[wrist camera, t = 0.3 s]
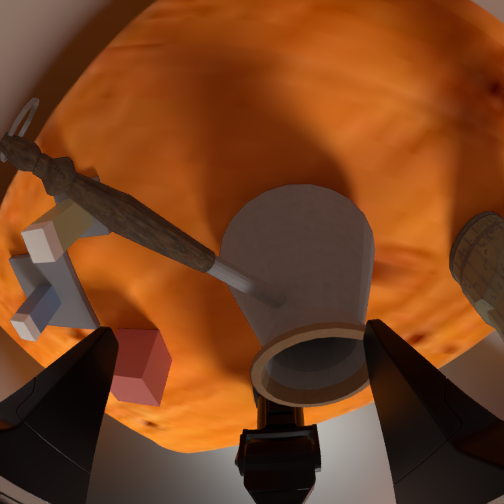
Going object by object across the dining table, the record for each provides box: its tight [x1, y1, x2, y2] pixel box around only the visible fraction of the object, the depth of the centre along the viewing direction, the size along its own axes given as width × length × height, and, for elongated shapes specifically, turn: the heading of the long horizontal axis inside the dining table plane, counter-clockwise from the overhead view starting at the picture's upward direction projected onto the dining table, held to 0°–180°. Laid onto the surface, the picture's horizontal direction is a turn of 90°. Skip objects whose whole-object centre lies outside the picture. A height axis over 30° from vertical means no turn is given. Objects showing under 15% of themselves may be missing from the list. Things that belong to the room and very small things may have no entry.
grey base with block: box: [21, 176, 112, 263], centre depth 19 cm, size 5×5×7 cm
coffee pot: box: [0, 98, 375, 407], centre depth 15 cm, size 21×12×15 cm, turn 42°
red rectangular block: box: [110, 328, 172, 406], centre depth 28 cm, size 5×5×7 cm
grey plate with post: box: [9, 251, 100, 342], centre depth 24 cm, size 10×10×7 cm
